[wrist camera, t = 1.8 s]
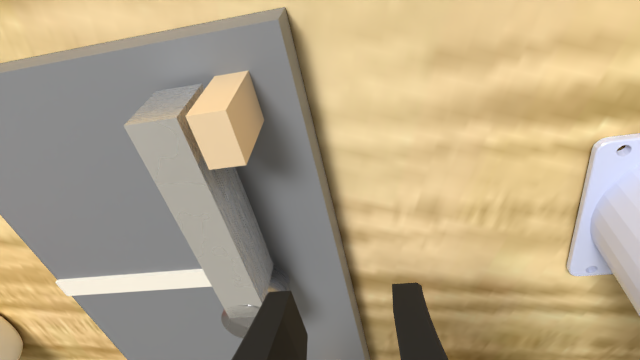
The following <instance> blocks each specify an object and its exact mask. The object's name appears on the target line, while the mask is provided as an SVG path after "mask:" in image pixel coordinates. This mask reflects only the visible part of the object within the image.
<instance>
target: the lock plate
mask: <svg viewBox="0 0 640 360" xmlns="http://www.w3.org/2000/svg"><path fill="white" fill-rule="evenodd" d="M201 83H202V84H203V87H204V89H205V90H204V91H203V93H202V94H201V95H200V97H199V98H198V99H197V101H196V102H195V104H194V105H193V106H192V108H191V109H190V110H189V112H188V113H187V115H186V116H185V117H186V119H187V121H188V123H189V126H190V128H191V130H192V132H193V135H194V137H195V139H196V141H197V144H198V146H199V148H200V150H201V153H202V155H203V157H204V159H205V162H206V164H207V166H208V168H209V170H212V169H220V168H228V167H236V170H237V172H238V175H239V178H240V180H241V183H242V185H243V188H244V190H245V193H246V195H247V198H248V200H249V203H250V205H251V208H252V210H253V213H254V215H255V218H256V220H257V223H258V226H259V228H260V231H261V233H262V236H263V238H264V241H265V243H266V246H267V248H268V251H269V253H270V256H271V258H272V261H273V263H274V265H276V266H278V267H280V268H281V269H283V270H284V271H285V272H286V273H287V275H288V277H289V279H290V287H289V291H291V292H292V295H293V297H294V300H295V303H296V305H297V308H298V310H299V313H300V316H301V318H302V321H303V324H304V326H305V329H306V331H307V334H308V341H307V360H370V356H369V352H368V348H367V344H366V339H365V335H364V331H363V327H362V323H361V319H360V315H359V310H358V306H357V302H356V298H355V294H354V290H353V286H352V282H351V277H350V273H349V269H348V265H347V261H346V257H345V253H344V248H343V244H342V240H341V236H340V232H339V228H338V224H337V219H336V215H335V211H334V207H333V203H332V199H331V195H330V191H329V186H328V182H327V178H326V174H325V170H324V166H323V162H322V157H321V153H320V149H319V145H318V141H317V137H316V133H315V128H314V124H313V120H312V116H311V112H310V108H309V104H308V99H307V95H306V91H305V87H304V83H303V79H302V75H301V71H300V66H299V62H298V58H297V54H296V50H295V46H294V42H293V37H292V33H291V29H290V25H289V21H288V17H287V13H286V8H285V7H283V8H278V9H273V10H268V11H263V12H258V13H253V14H248V15H243V16H238V17H233V18H228V19H222V20H217V21H212V22H207V23H202V24H197V25H192V26H187V27H182V28H177V29H172V30H167V31H162V32H157V33H152V34H147V35H142V36H137V37H132V38H126V39H121V40H116V41H111V42H106V43H101V44H96V45H91V46H86V47H81V48H76V49H71V50H66V51H61V52H56V53H51V54H46V55H41V56H36V57H31V58H25V59H20V60H15V61H10V62H5V63H0V215H1V216H2V217H3V218H4V219H5V220H6V222H7V223H8V224H9V225H10V226H11V227H12V228H13V230H14V231H15V232H16V233H17V234H18V235H19V236H20V238H21V239H22V240H23V241H24V242H25V243H26V244H27V246H28V247H29V248H30V249H31V250H32V251H33V252H34V254H35V255H36V256H37V257H38V258H39V259H40V260H41V262H42V263H43V264H44V265H45V266H46V267H47V268H48V270H49V271H50V272H51V273H52V274H53V275H54V276H55V277H56V279H57V281H56V282H55V283H56V284H57V285H58V286H59V287H60V288H61V290H62V291H63V292H64V293H65V294H66V295H67V296H72V297H73V298H74V299H75V300H76V301H77V303H78V304H79V305H80V306H81V307H82V308H83V309H84V311H85V312H86V313H87V314H88V315H89V316H90V317H91V319H92V320H93V321H94V322H95V323H96V324H97V325H98V326H99V328H100V329H101V330H102V331H103V332H104V333H105V334H106V336H107V337H108V338H109V339H110V340H111V341H112V342H113V344H114V345H115V346H116V347H117V348H118V349H119V350H120V352H121V353H122V354H123V355H124V356H125V357H126V358H127V360H231V359H232V358H233V356H234V354H235V352H236V351H237V349H238V347H239V346H240V344H241V342H242V340H243V339H242V338H239V337H237V336H235V335H233V334H231V333H230V332H229V331H228V330H226V329H225V327H224V326H223V324H222V322H221V316H222V313H223V309H224V307H223V305H222V304H221V302H220V300H219V298H218V296H217V295H216V293H215V291H214V289H213V287H212V286H211V284H210V282H209V280H208V278H207V276H206V275H205V273H204V271H203V269H202V267H201V266H200V264H199V262H198V260H197V258H196V256H195V255H194V253H193V251H192V249H191V247H190V246H189V244H188V242H187V240H186V238H185V236H184V235H183V233H182V231H181V229H180V227H179V226H178V224H177V222H176V220H175V218H174V217H173V215H172V213H171V211H170V209H169V207H168V206H167V204H166V202H165V200H164V198H163V197H162V195H161V193H160V191H159V189H158V187H157V186H156V184H155V182H154V180H153V178H152V177H151V175H150V173H149V171H148V169H147V167H146V166H145V164H144V162H143V160H142V158H141V157H140V155H139V153H138V151H137V149H136V148H135V146H134V144H133V142H132V140H131V138H130V137H129V135H128V133H127V131H126V129H125V128H124V125H125V124H126V122H127V121H128V120H129V119H130V118H131V117H132V116H133V115H134V114H135V113H136V112H137V111H138V110H139V109H140V108H141V107H142V105H143V104H144V103H145V102H146V101H147V100H148V99H149V98H150V97H151V96H152V95H153V94H154V93H155V92H156V91H160V90H166V89H172V88H178V87H184V86H190V85H195V84H201Z"/></svg>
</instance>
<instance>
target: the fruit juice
mask: <svg viewBox="0 0 640 360" xmlns="http://www.w3.org/2000/svg"><path fill="white" fill-rule="evenodd" d="M22 350H23V342H22V339H21V337H20V335H19V333H18V332H17V330H16V329H15V328H14V327H13V326H12V325H11V324H10V323H9V322H8V321H7V320H5V319H4V318H3V317H1V316H0V360H19V358H20V356H21V353H22Z"/></svg>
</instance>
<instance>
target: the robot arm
mask: <svg viewBox="0 0 640 360" xmlns="http://www.w3.org/2000/svg"><path fill="white" fill-rule="evenodd" d="M624 145H626V146H625V148H623V149H622V150H619V151H617V150H618V148H620V147H621V146H624ZM567 269H568V271H569V273H570V274H571V275H574V276H589V275H606V274H614V276H615V277H616V279H617V281H618V282H619V284H620V286H621V287H622V289H623V290H624V292H625V294H626V295H627V297H628V299H629V300H630V302H631V303H632V305H633V307H634V308H635V310H636V311H637V313H638V315H639V316H640V133H638V134H629V135H621V136H612V137H606V138H603V139H601V140H599V141H597V142H596V143H595V144H594V146H593V148H592V151H591V156H590V160H589V165H588V170H587V174H586V179H585V183H584V188H583V193H582V197H581V202H580V206H579V211H578V215H577V220H576V225H575V229H574V234H573V238H572V243H571V248H570V252H569V257H568V261H567ZM392 292H393V313H394V319H395V325H396V331H397V338H398V344H399V350H400V356H401V360H448V358H447V356H446V354H445V351H444V349H443V347H442V345H441V343H440V340H439V338H438V336H437V333H436V331H435V328H434V326H433V323H432V320H431V318H430V315H429V312H428V309H427V306H426V303H425V299H424V296H423V292H422V286H421V285H420V284H418V283H405V284H392ZM307 341H308V334H307V331H306V329H305V326H304V324H303V321H302V318H301V316H300V313H299V310H298V308H297V305H296V303H295V300H294V297H293V295H292V292H291V291H275V292H269V293H268V294H267V295H266V297H265V299H264V301H263V303H262V305H261V307H260V309H259V311H258V312H257V314H256V316H255V318H254V320H253V322H252V324H251V326H250V328H249V329H248V331H247V333H246V335H245V337H244V339H243V340H242V342H241V344H240V346H239V347H238V349H237V351H236V352H235V354H234V356H233V358H232V359H231V360H307Z"/></svg>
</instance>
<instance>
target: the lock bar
mask: <svg viewBox="0 0 640 360" xmlns="http://www.w3.org/2000/svg"><path fill="white" fill-rule="evenodd" d="M204 90H205V89H204V87H203V84H202V83H201V84H195V85H190V86H184V87H178V88H172V89H166V90H160V91H156V92H155V93H154V94H153V95H152V96H151V97H150V98H149V99H148V100H147V101H146V102H145V103H144V104H143V105H142V107H141V108H140V109H139V110H138V111H137V112H136V113H135V114H134V115H133V116H132V117H131V118H130V119H129V120H128V121H127V122H126V124H125V125H124V128H125V129H126V131H127V133H128V135H129V137H130V138H131V140H132V142H133V144H134V146H135V148H136V149H137V151H138V153H139V155H140V157H141V158H142V160H143V162H144V164H145V166H146V167H147V169H148V171H149V173H150V175H151V177H152V178H153V180H154V182H155V184H156V186H157V187H158V189H159V191H160V193H161V195H162V197H163V198H164V200H165V202H166V204H167V206H168V207H169V209H170V211H171V213H172V215H173V217H174V218H175V220H176V222H177V224H178V226H179V227H180V229H181V231H182V233H183V235H184V236H185V238H186V240H187V242H188V244H189V246H190V247H191V249H192V251H193V253H194V255H195V256H196V258H197V260H198V262H199V264H200V266H201V267H202V269H203V271H204V273H205V275H206V276H207V278H208V280H209V282H210V284H211V286H212V287H213V289H214V291H215V293H216V295H217V296H218V298H219V300H220V302H221V304H222V305H223V307H224V309H223V313H222V316H221V322H222V324H223V326H224V327H225V329H226V330H228V331H229V332H230V333H231V334H233V335H235V336H237V337H239V338H242V339H244V337H245V335H246V333H247V331H248V329H249V328H250V326H251V324H252V322H253V320H254V318H255V316H256V314H257V312H258V311H259V309H260V307H261V305H262V303H263V301H264V299H265V297H266V295H267V294H268V293H269V292H275V291H289V287H290V279H289V277H288V275H287V273H286V272H285V271H284V270H283V269H281V268H280V267H278V266H276V265H274V263H273V261H272V258H271V256H270V253H269V251H268V248H267V246H266V243H265V241H264V238H263V236H262V233H261V231H260V228H259V226H258V223H257V220H256V218H255V215H254V213H253V210H252V208H251V205H250V203H249V200H248V198H247V195H246V193H245V190H244V188H243V185H242V183H241V180H240V178H239V175H238V172H237V170H236V167H228V168H220V169H212V170H209V168H208V166H207V164H206V162H205V159H204V157H203V155H202V153H201V150H200V148H199V146H198V144H197V141H196V139H195V137H194V135H193V132H192V130H191V128H190V126H189V123H188V121H187V119H186V117H185V116H186V115H187V113H188V112H189V110H190V109H191V108H192V106H193V105H194V104H195V102H196V101H197V99H198V98H199V97H200V95H201V94H202V93H203V91H204Z"/></svg>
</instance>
